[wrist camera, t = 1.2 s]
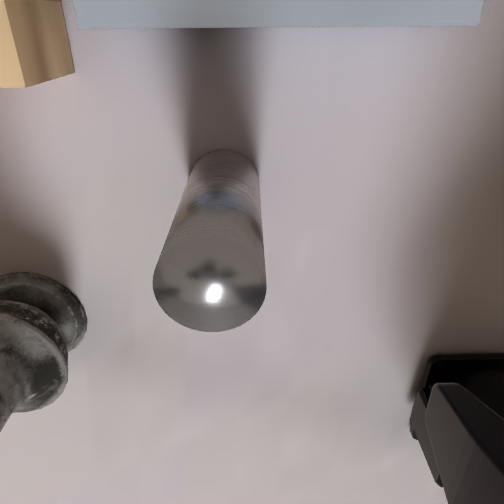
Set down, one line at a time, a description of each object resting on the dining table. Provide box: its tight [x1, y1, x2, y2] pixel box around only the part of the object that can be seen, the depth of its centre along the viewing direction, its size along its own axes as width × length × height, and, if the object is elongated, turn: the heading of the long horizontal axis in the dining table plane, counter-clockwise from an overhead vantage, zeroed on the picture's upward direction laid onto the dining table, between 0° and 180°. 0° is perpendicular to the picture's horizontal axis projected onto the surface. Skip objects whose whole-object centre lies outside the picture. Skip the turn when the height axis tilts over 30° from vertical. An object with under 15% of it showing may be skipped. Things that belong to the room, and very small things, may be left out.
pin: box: [153, 150, 266, 332], centre depth 15 cm, size 3×3×8 cm
